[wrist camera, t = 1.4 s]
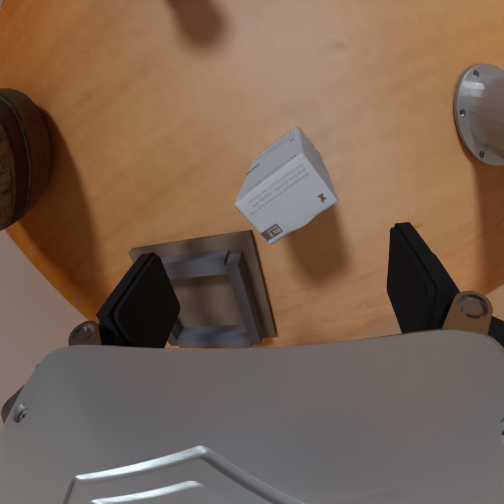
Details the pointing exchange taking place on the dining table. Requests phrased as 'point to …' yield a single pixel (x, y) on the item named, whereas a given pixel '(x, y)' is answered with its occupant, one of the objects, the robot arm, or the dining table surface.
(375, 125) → the dining table surface
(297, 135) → the skincare box
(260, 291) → the socket stand
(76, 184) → the dining table surface
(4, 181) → the painted clay vase
